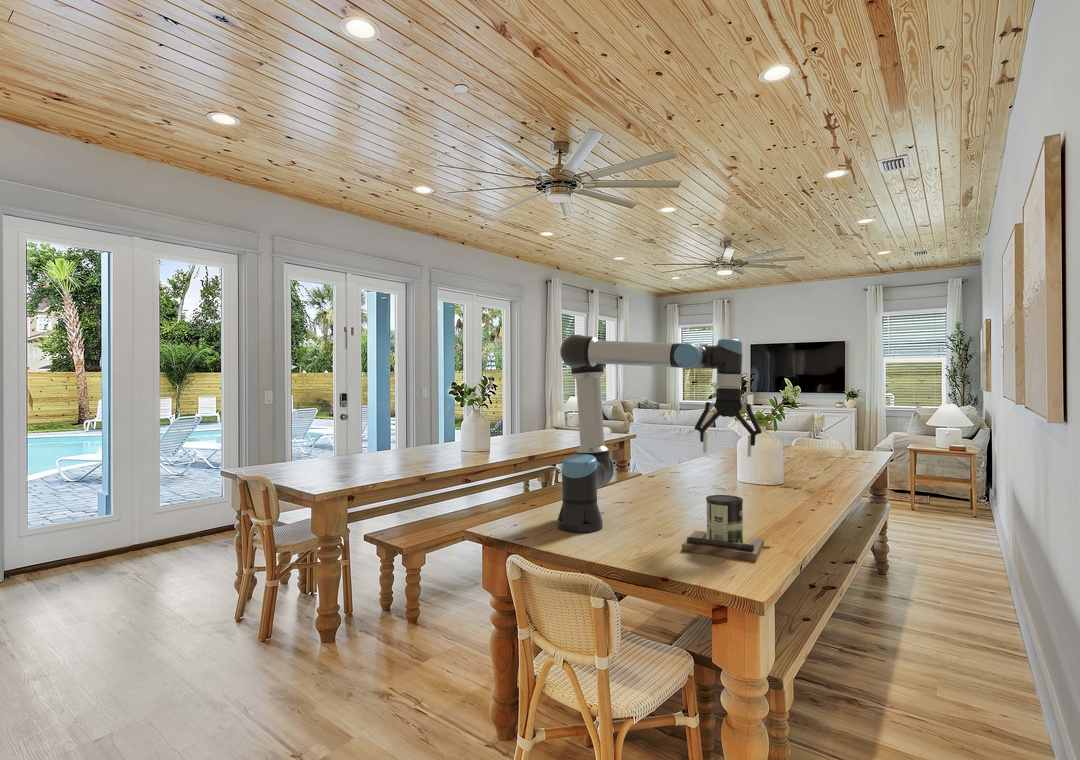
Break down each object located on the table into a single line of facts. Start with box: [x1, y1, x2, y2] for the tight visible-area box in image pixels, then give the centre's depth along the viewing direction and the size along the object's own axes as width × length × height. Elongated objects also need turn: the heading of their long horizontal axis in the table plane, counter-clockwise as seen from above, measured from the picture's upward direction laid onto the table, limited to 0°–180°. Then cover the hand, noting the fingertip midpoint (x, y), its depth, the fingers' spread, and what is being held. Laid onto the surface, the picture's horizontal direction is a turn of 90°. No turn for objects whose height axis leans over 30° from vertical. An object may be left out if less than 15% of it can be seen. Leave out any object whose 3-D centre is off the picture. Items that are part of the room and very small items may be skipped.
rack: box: [681, 530, 765, 562], centre depth 164 cm, size 20×16×4 cm
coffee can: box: [705, 494, 744, 544], centre depth 166 cm, size 10×10×14 cm
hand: (726, 454), depth 180 cm, fingers open, 13 cm apart
